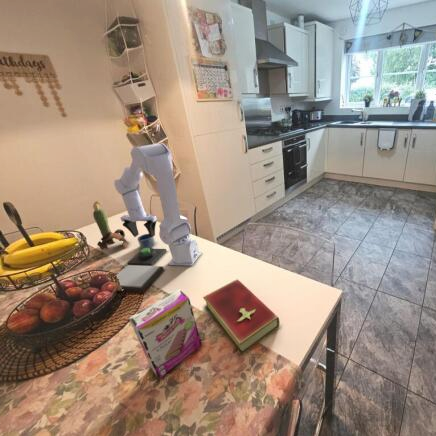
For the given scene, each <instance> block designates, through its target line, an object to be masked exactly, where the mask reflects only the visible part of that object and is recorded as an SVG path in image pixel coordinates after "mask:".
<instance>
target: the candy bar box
mask: <svg viewBox="0 0 436 436" xmlns="http://www.w3.org/2000/svg"><path fill="white" fill-rule="evenodd" d="M128 319H129V321H130V324H131V326H132V328H133V331H134V333H135V335H136V337H137V340H138V342H139V345H140V347H141V349H142V352H143V353H144V356H145V358H146V360H147V363H148V366H150V368H151V370H152V372H153V373H154V374H155V376H156V377H157V378H158V380H160V379H161V378H163V377H164V376H166V375H167V374H168V373H169V372H170V371H171V370H173V369H174V368H175V367H177V366H178V365H179V364H180V363H181V362H183V361H184V360H185V359H186V358H187V357H189V356H190V355H191V354H193V353H194V352H195V351H197V350H198V349H199V348H200V347H201V346H202V340H201V337H200V333H199V330H198V325H197V321H196V318H195V314H194V311H193V307H192V304H191V300H190V297H189V296H188V295H187V294H186V293H184V291H182V290H181V289H180V288H178V289H176V290H175V291H173V292H171V293H169V294H168V295H166V296H164V297H162V298H161V299H159V300H157V301H156V302H154V303H152V304H151V305H149V306H147V307H145V308H143V309H142V310H140V311H138V312H136V313H134V314H133V315H131V316H129V317H128Z"/></svg>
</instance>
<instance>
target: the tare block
mask: <svg viewBox="0 0 436 436" xmlns="http://www.w3.org/2000/svg"><path fill="white" fill-rule="evenodd" d="M143 249H144V248H143ZM149 249H150V253H148V254H146V255H142V253H141V250H140V251H138V253H137V254H135V255H134V256H133V257H132V258H130V259H129V260H128V261H127V262H126V264H127V265H137V266H155V264H156V263H158V261H159V260H160V259H161V258H162V257H163V256H164V255H165V254H166V253H167V251H168V250H167V249H166V248H153V247H151V248H149Z"/></svg>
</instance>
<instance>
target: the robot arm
mask: <svg viewBox="0 0 436 436" xmlns="http://www.w3.org/2000/svg"><path fill="white" fill-rule="evenodd" d="M130 157H131V159H132V160H131V162H130V166H126V167H124V171H123V172H122V174H121V176H120V178H119V179H118V178H117V179H114V183H113V185H114V187H115V190H116V191H117V192H118V194H120V196H121V198H122V200H123V203H124V206H125V209H126V211H127V215H125V214H124V215H121V216H120V217H119V218H120V221H121V222H123V223H122V226H123V227H124V228H126V229H127V230H128V231H129V232H130V233H131V235H132V236H133V237H134V238H136V237H138V236H139V234H140V233H139V230H138V226H137V222H145V223H143V226H144V227H145V229H146V230H147V232H148V234H149V235H150V237H155V236H156V225H157V221H158V218H157V216H156V215H152V214H147V212H146V211H145V208H144V206H143V202H142V199H141V197H140V195H141V192H140V188H141V187H140V182H141V180H142V178H143V171H144V172H145V173H146V174H147V175H149V176H154V177H155V179H156V180H155V181H156V186H157V189H158V195H159V199H160V204H161V209H162V214H163V220H162V221H161V222H160V223H159V226H158V227H159V232H158V235H159V238H160V240H161V242H162V243H163V244H165V245H167V246H168V248H169V252H170V255H171V260H170V261H169V262H168V265H169V266H188V267H189V266H190V267H191V266H193V265H194V264H195V262H196V261H197V260H198V258H199V257H200V256H201V252H200V250H199V247H198V242H197V240H195V239H192V238H190V237H191V235H190V234H191V233H192V227H191V225H190V223H189V219H188V218H187V217H186V216H183V215H181V212H180V206H179V199H178V194H177V187H176V181H175V175H174V170H173V168H174V164H173V158H172V152H171V150H170V149H169V147H168V146H167V145H166V144H165V143H163V142H157V143H151V144H146V145H140V146H133V147H132V149H131V151H130Z"/></svg>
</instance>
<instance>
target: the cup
mask: <svg viewBox="0 0 436 436" xmlns="http://www.w3.org/2000/svg"><path fill="white" fill-rule="evenodd" d="M137 242H138V244H139V247H140V249H141V250H142V249H143V248H153V247H154V246H155V245H156V241H155V236H153V237H150V235H149V233H144V234H141V235H140V236H137Z"/></svg>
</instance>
